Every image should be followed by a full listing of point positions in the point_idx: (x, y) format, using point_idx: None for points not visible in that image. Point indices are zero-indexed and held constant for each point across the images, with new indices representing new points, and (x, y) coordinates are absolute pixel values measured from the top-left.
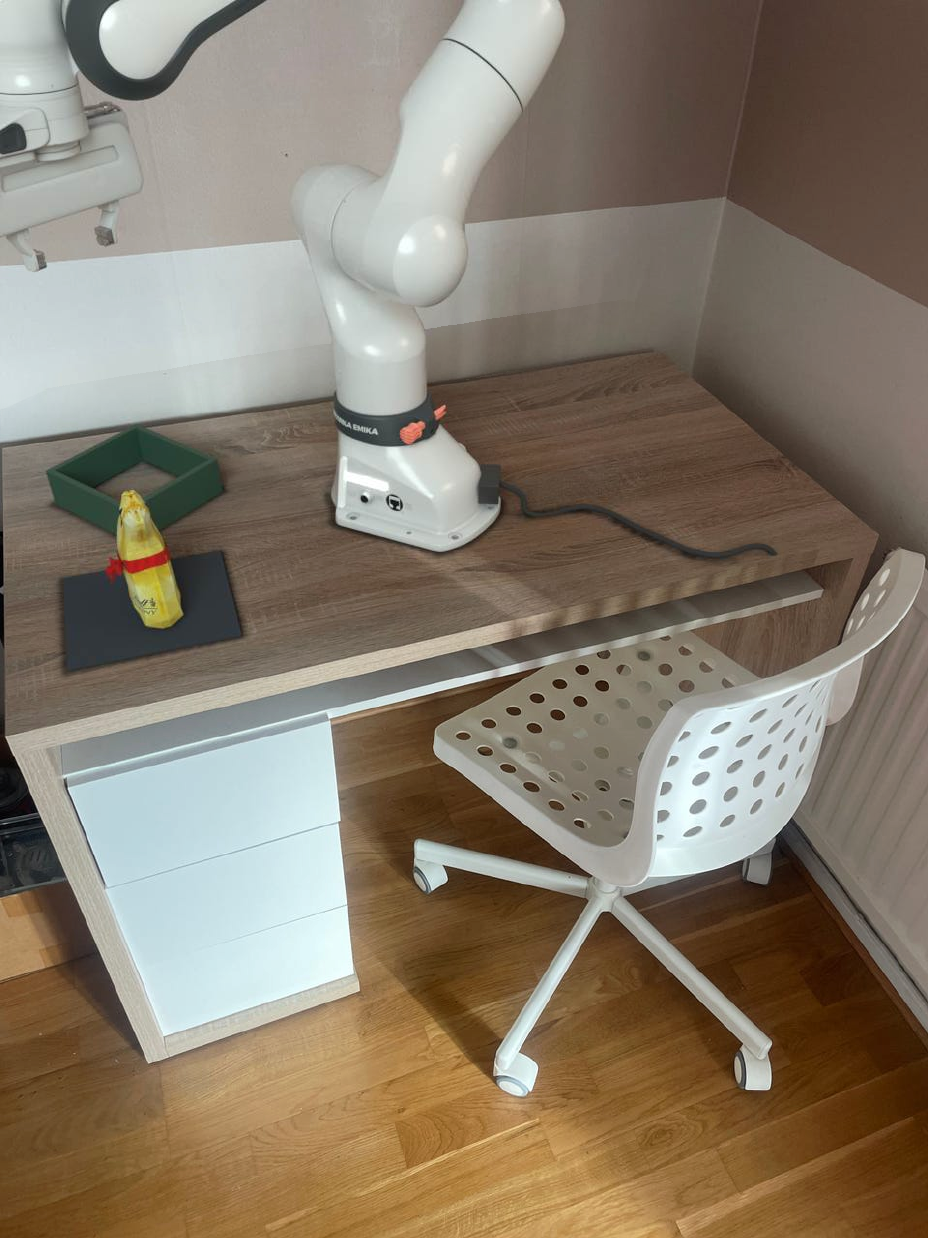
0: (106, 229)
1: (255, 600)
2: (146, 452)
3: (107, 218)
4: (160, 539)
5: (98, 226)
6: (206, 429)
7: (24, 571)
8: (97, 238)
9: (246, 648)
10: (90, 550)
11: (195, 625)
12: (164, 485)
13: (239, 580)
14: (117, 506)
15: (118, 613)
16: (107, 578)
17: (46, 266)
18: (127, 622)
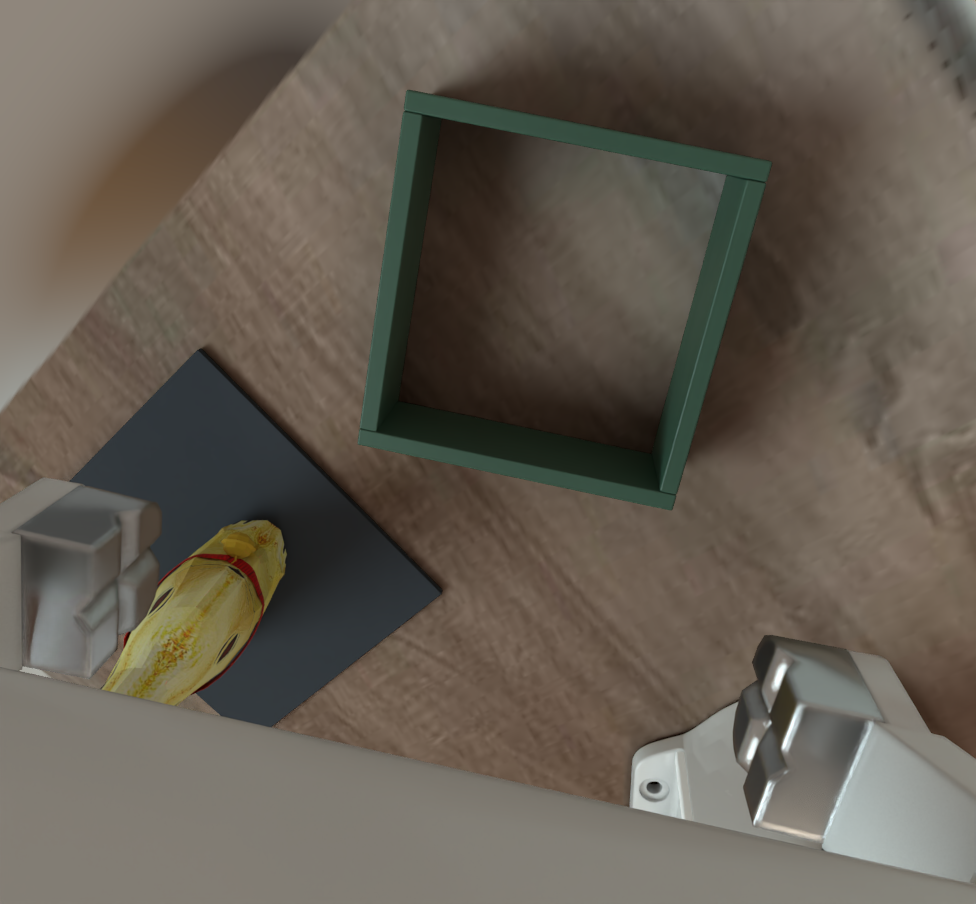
0: (799, 819)
1: (347, 715)
2: (725, 202)
3: (914, 858)
4: (200, 686)
5: (851, 718)
6: (967, 239)
7: (178, 238)
8: (774, 659)
9: None
10: (314, 326)
11: (226, 666)
12: (493, 460)
13: (383, 663)
14: (363, 404)
15: (176, 525)
16: (246, 438)
17: (146, 608)
18: (166, 555)
